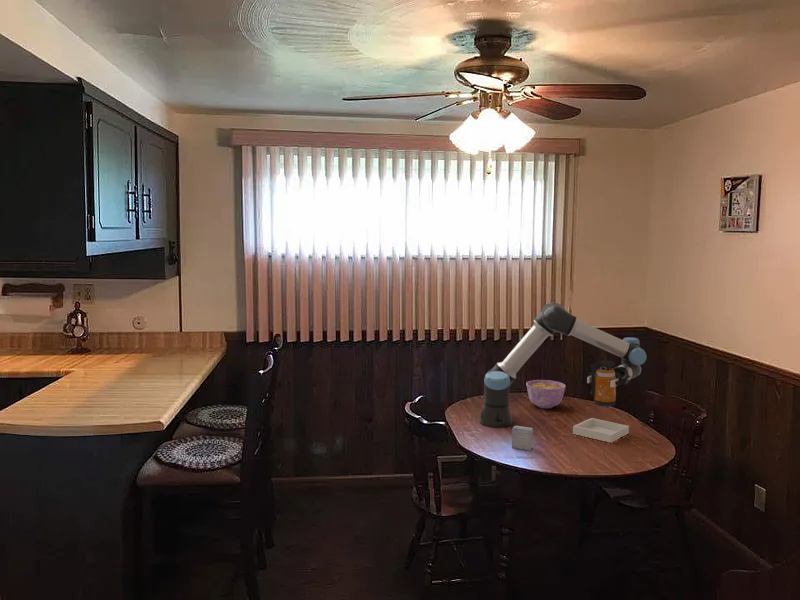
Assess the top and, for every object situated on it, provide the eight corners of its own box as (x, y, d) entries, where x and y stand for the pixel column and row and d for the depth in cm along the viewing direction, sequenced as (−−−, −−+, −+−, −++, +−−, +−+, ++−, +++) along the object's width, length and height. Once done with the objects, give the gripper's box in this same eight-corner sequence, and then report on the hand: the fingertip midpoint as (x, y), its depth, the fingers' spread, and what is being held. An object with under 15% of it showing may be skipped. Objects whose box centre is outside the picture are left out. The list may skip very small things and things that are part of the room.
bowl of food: (518, 407, 340) (519, 385, 338) (534, 399, 356) (535, 378, 355) (556, 414, 328) (557, 391, 327) (570, 405, 345) (571, 383, 343)
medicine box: (532, 447, 278) (533, 427, 277) (530, 451, 274) (530, 430, 273) (514, 445, 281) (515, 425, 280) (511, 448, 277) (512, 428, 276)
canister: (616, 407, 289) (617, 362, 287) (590, 406, 292) (591, 362, 289) (614, 402, 298) (615, 358, 296) (588, 401, 300) (589, 358, 298)
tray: (611, 444, 284) (611, 435, 283) (572, 434, 296) (573, 426, 295) (628, 434, 297) (629, 425, 297) (591, 426, 309) (591, 417, 309)
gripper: (644, 386, 300) (624, 395, 283) (597, 378, 315) (575, 386, 298) (645, 369, 299) (624, 377, 282) (598, 362, 314) (576, 369, 298)
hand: (599, 382), depth 290 cm, fingers closed on canister, 10 cm apart
